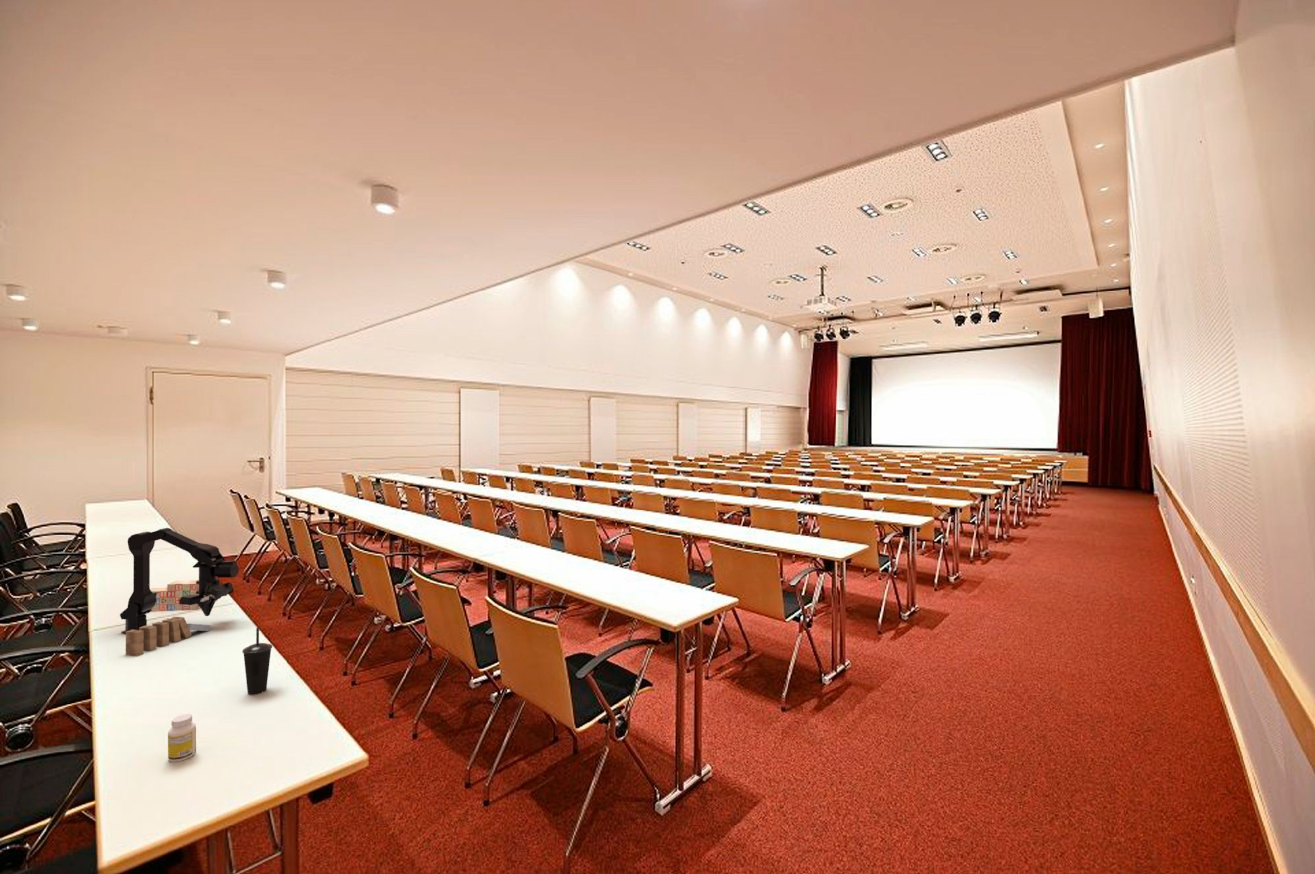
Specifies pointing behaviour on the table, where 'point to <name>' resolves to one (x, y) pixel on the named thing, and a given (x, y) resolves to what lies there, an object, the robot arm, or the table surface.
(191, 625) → the slate domino
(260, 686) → the drinking cup
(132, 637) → the domino
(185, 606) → the stack of blocks
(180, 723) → the supplement bottle
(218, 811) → the table surface
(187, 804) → the table surface
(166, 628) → the domino
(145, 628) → the domino
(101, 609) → the table surface
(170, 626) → the domino
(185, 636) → the domino
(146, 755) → the table surface
